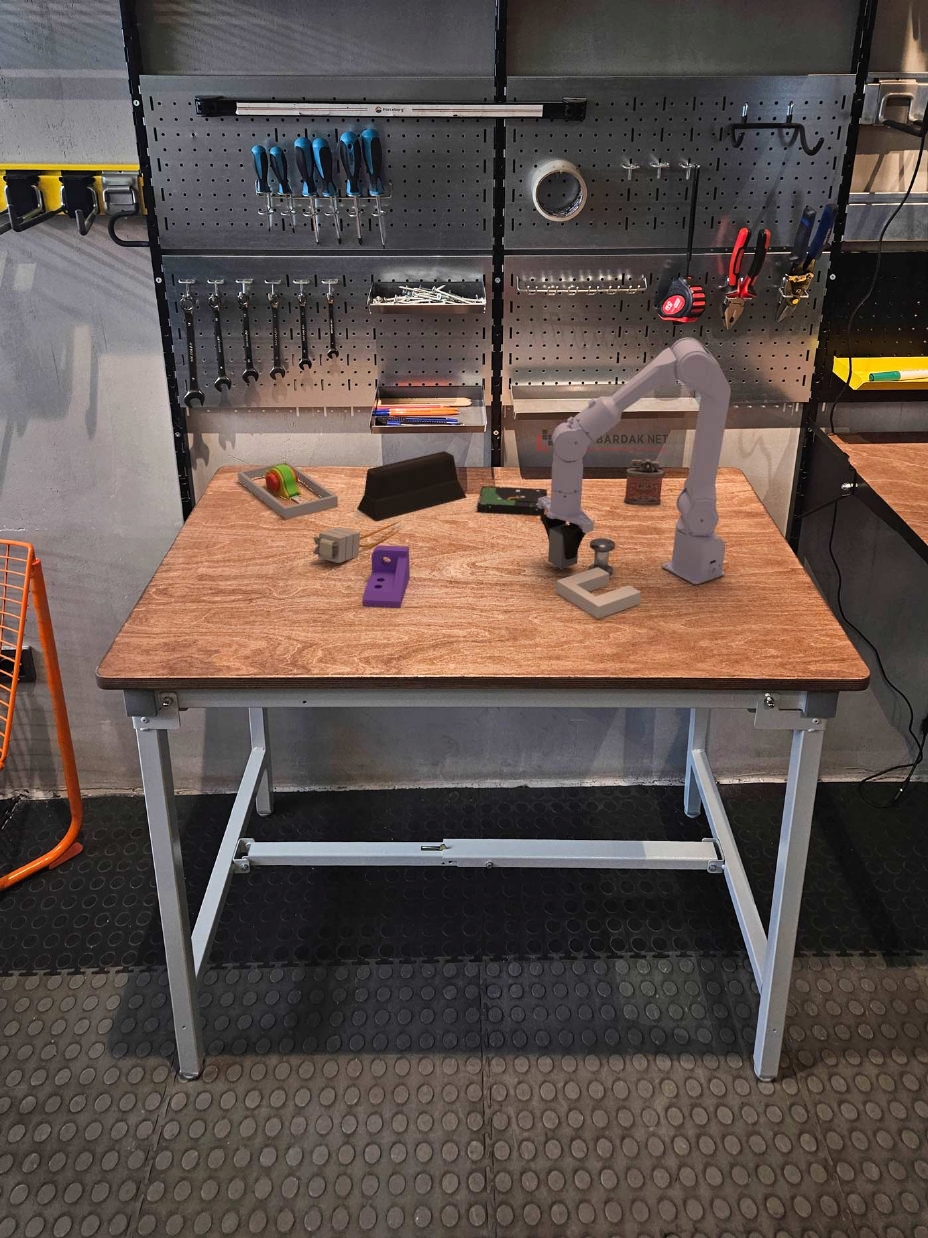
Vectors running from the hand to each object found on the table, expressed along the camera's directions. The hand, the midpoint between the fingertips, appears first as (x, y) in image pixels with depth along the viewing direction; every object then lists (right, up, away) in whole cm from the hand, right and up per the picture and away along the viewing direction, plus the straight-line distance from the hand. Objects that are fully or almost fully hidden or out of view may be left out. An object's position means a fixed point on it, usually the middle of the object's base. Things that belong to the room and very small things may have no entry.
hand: (563, 553), depth 196 cm
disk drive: (-8, +12, +29) cm, 33 cm away
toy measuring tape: (-58, +14, +33) cm, 68 cm away
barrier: (-31, +13, +30) cm, 45 cm away
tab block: (0, -2, +1) cm, 2 cm away
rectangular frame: (-59, +16, +34) cm, 70 cm away
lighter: (+21, +13, +31) cm, 39 cm away
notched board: (+5, -9, -9) cm, 14 cm away
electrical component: (-40, +2, +11) cm, 42 cm away
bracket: (-34, -8, -6) cm, 35 cm away
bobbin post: (+7, -4, +1) cm, 8 cm away
